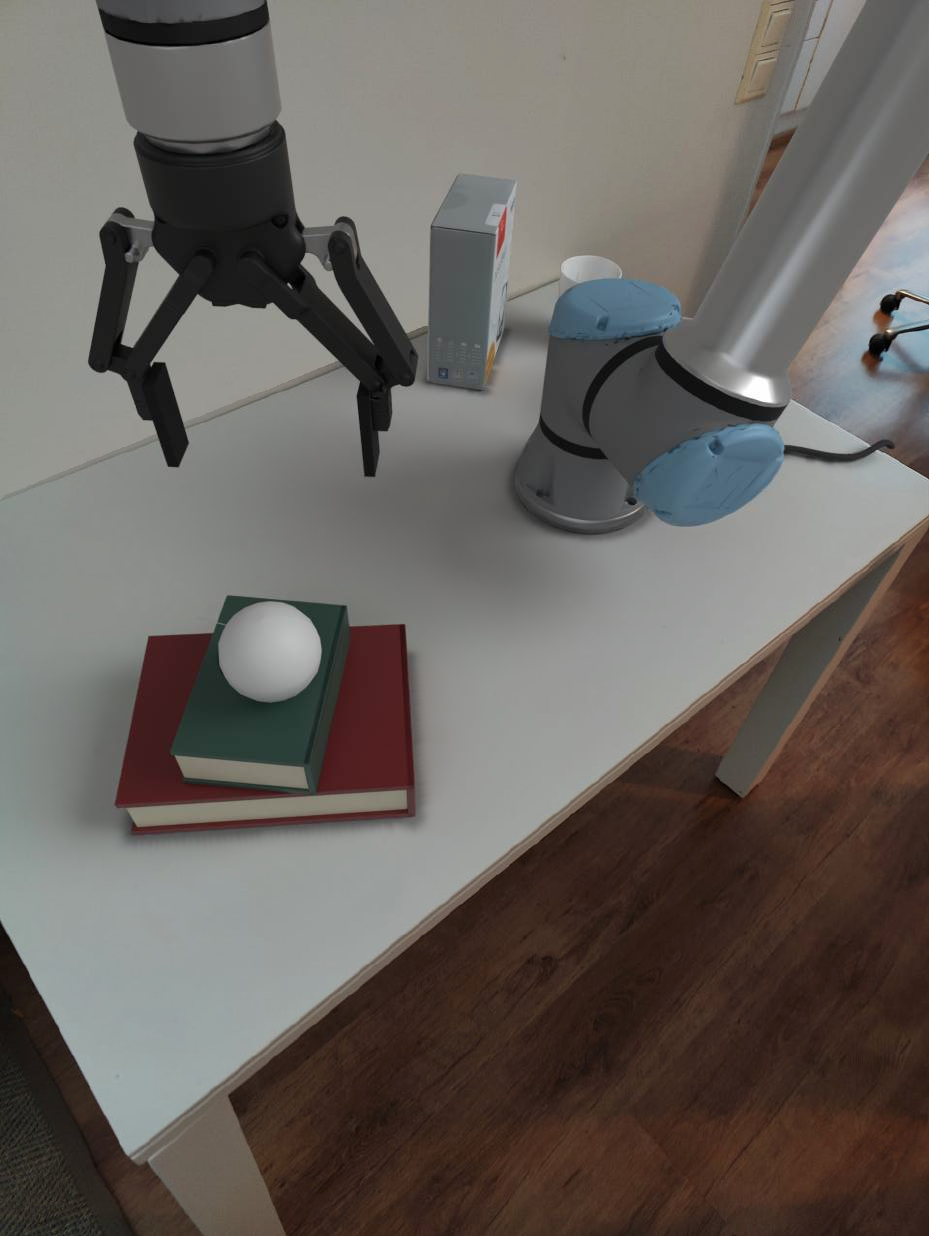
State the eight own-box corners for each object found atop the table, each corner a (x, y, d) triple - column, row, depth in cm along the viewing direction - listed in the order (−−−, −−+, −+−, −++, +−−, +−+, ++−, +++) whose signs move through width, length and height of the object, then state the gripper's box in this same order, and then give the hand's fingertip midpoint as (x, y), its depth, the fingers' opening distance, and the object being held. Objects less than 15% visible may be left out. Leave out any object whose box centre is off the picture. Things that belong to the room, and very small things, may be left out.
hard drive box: (485, 393, 104) (495, 234, 89) (426, 384, 105) (426, 225, 89) (505, 329, 114) (518, 177, 99) (451, 322, 114) (455, 170, 99)
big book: (406, 658, 76) (405, 623, 72) (415, 816, 66) (415, 785, 62) (162, 670, 74) (148, 635, 70) (132, 835, 64) (114, 805, 60)
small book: (350, 639, 71) (347, 605, 67) (316, 795, 61) (309, 764, 58) (236, 629, 71) (226, 594, 68) (183, 783, 61) (169, 751, 58)
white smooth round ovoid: (347, 674, 63) (339, 611, 57) (277, 739, 59) (261, 679, 53) (255, 612, 66) (239, 547, 61) (183, 669, 62) (159, 606, 57)
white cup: (548, 352, 110) (557, 280, 103) (554, 322, 115) (563, 252, 108) (607, 359, 110) (620, 288, 102) (610, 328, 115) (623, 258, 107)
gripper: (461, 106, 43) (456, 434, 59) (-7, 88, 44) (116, 418, 60) (452, 164, 38) (450, 504, 55) (-74, 143, 39) (79, 486, 55)
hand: (275, 460), depth 57 cm, fingers open, 13 cm apart
